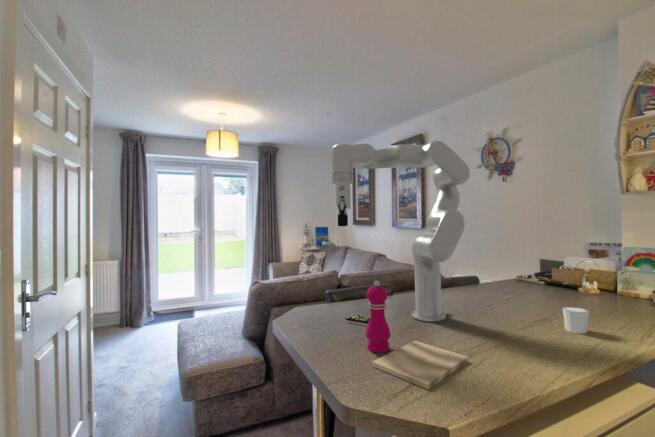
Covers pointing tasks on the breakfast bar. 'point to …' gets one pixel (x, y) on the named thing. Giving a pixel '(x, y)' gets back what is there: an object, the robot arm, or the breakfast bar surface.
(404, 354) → the cutting board
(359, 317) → the remote control
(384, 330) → the pepper mill
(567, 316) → the white tapered cylinder
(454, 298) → the breakfast bar surface
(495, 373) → the breakfast bar surface
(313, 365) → the breakfast bar surface
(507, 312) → the breakfast bar surface
